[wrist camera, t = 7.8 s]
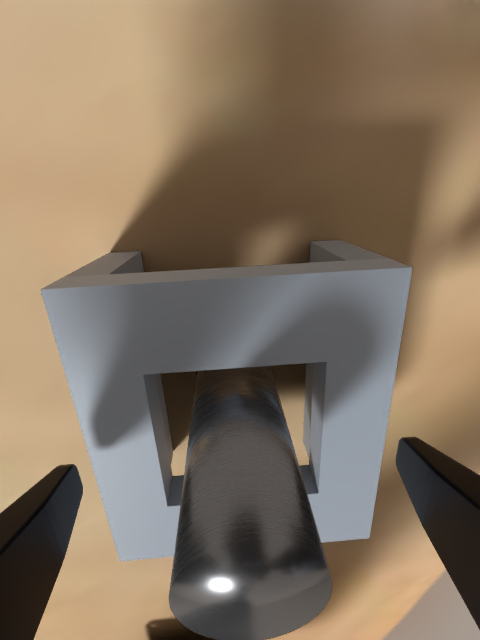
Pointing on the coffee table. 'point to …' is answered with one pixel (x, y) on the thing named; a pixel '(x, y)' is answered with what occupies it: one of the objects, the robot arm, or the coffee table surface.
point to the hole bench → (225, 353)
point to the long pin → (244, 517)
